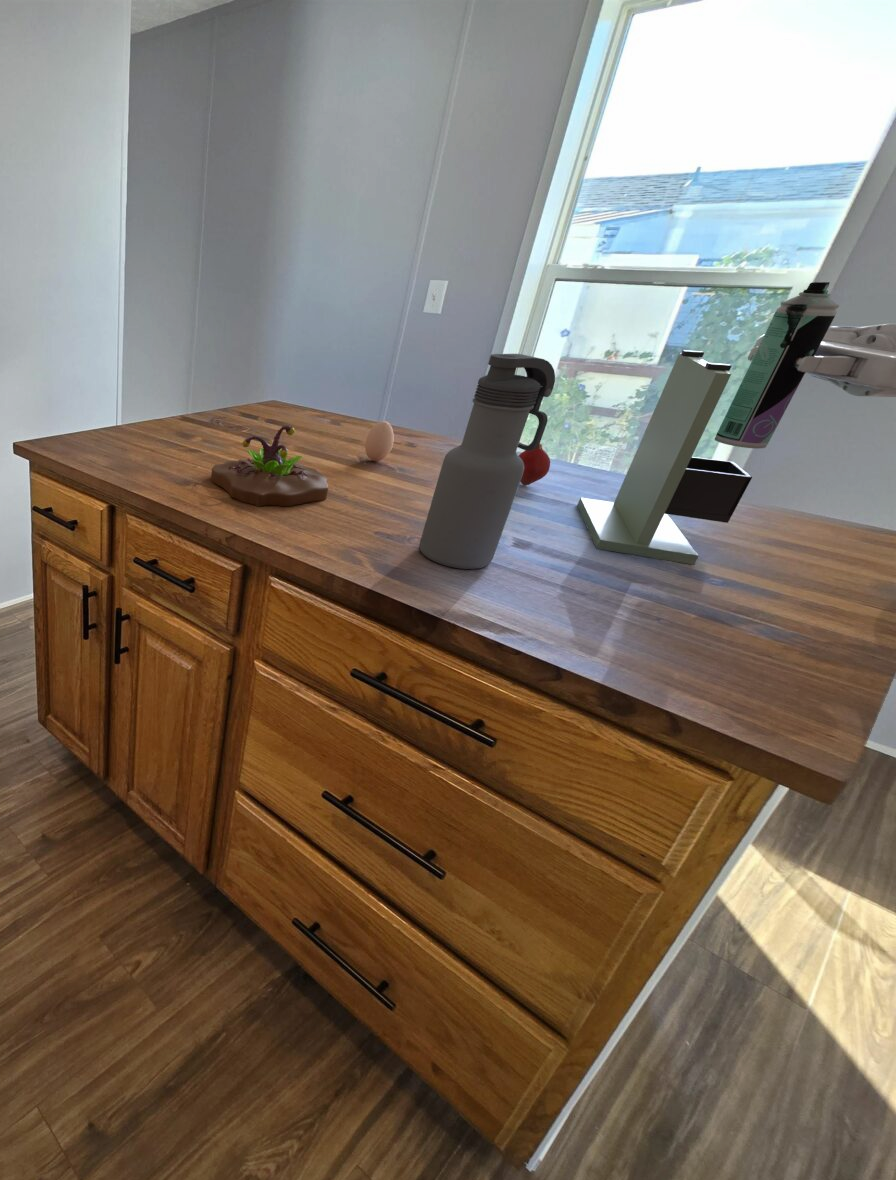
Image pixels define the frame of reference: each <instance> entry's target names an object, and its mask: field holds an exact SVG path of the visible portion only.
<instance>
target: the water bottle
mask: <svg viewBox="0 0 896 1180" xmlns="http://www.w3.org/2000/svg"><path fill="white" fill-rule="evenodd" d="M487 365H489V369H488V372H487V374H485V375H484V376H481V377H480V378H478V380H477V385H476V388H475V392H474V393H475V394H474V395H473V398H472V403H473V405H472V409H471V412H470V415H469V418H468V422H467V425H466V428H465V431H464V432H465V433H464V435H463V439H462V442H461V444H460V445H458V446H455V447H453V448H452V449H450V450H449V451H448V452H447V453H446V454H445V456H444V458H443V460H442V464H441V467H440V472H439V475H438V477H437V480H436V481H437V482H436V485H435V489H434V492H433V496H432V499H431V503H430V505H429V509H428V513H427V516H426V520H425V523H424V527H423V531H422V534H421V537H420V540H419V546H418V547H419V550H420V553H422V554H423V556H425V557H426V558H427V559H429V560H430V561H432V562H435V563H437V564H440V565H441V566H446V567H449V568H454V569H460V570H476V569H482V568H485V567H487V566H488V565H490V564H491V563H492V561H493V560H494V557H495V554H496V551H497V549H498V545H499V543H500V540H501V537H502V534H503V531H504V529H505V526H506V523H507V520H508V518H509V514H510V511H511V509H512V506H513V503H514V501H515V497H516V495H517V492H518V489H519V486H520V484H521V482H520V481H521V478H522V475H523V472H524V463H523V461H522V459H521V458H520V457H519V455H518V453H517V450H518V448H519V449H521V450H523V451H525V450H526V451H532V450H535V449H536V448H537V447H538V446H539V444H541V441H542V438H543V435H544V432H545V430H546V427H547V424H548V415H547V414H546V412H544V411H542V410H540V409H541V405H542V403H543V400H544V398H548V397H550V396H551V394H552V392H553V390H554V387H555V383H556V372H555V368H554V366H553V364H552V363H551V362H550V361H548V360H547V359H544V358H540V357H535V356H531V355H527V354H523V353H491V354H490V356H489V359H488V363H487ZM522 368H523V369H524V370H525V373H526V376H524V375H521V374H516V371H517V369H522ZM529 415H533V416H535V417H536V418H537V421H538V425H537V428H536V431H535V434H534V437H533V440H532V442H531V443H530V444H525V443H523V442H520V441H521V438H522V435H523V433H524V429H525V428H526V427H525V426H526V424H527V421H528V418H529Z"/></svg>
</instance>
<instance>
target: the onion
mask: <svg viewBox="0 0 896 1180" xmlns="http://www.w3.org/2000/svg"><path fill="white" fill-rule="evenodd" d="M518 456H519V457H520V458H521V459H522V461H523V463H524V472H523V475H522V478H521V481H520V484H521V485H523V486H529V485H531V484H533V483H535V482H537V481H539V480H541V479H543V478H544V477H546V476H547V475H548V472H549V471H550V467H551V459H550V456H549V454H548V453H547V452H546V451H545V450H544V449H543V444H542V443H540V444H539V446H538V447H537V448H536V449H535V450H532V451H526V450H523V451H522V452H520V453H519V455H518Z"/></svg>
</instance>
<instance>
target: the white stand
mask: <svg viewBox="0 0 896 1180" xmlns="http://www.w3.org/2000/svg"><path fill="white" fill-rule="evenodd" d="M704 355H705V352H704V351H702V350H701V351H700V350H687V349H683V350H681V352H679V353H678V355H677V356H676V359H675V361H674V364H673V366H672V369H671V371H670V373H669V376H668V378H667V380H666V382H665V384H664V386H663V389H662V392H661V393H660V395H659V398H658V401H657V403H656V405H655V407H654V410H653V412H652V414H651V417H650V420H649V422H648V423H647V426H646V428H645V431H644V432H643V435H642V437H641V440H640V442H639V445H638V447H637V449H636V451H635V453H634V456H633V458H632V461H631V463H630V465H629V468H628V470H627V472H626V474H625V477H624V479H623V481H622V483H621V486H620V488H619V491H618V493H617V495H616V497H615V500H614V502H613V501H609V500H608V501H606V500H600V499H593V498H587V497H586V498H585V497H580V498H579V499H578V502H577V504H576V506H577V508H578V511H579V512H581V513H580V515H581V514H582V515H581V517H582V519H583V521H585V522H584V524H585V523H586V524H585V526H586V525H587V526H586V528H587V527H588V528H587V530H588V532H590V533H589V535H590V538H591V539H592V542H593V544H594V546H595V549H596V550H597V549H598V550H602V551H609V552H615V553H621V554H626V555H633V556H638V557H639V556H640V557H645V558H651V559H657V560H661V561H662V560H663V561H668V562H669V561H670V562H675V563H681V564H687V565H692V566H693V565H695V564H696V562H697V560H698V559H699V556H700V555H699V553H698V552H697V551H696V550H695V548H694V547H693V545H692V544H691V543H690V541H688V539H687V538H686V537H685V536H684V535H685V534H683V533H682V531H681V530H680V529H679V528H678V526H677V525H676V523H675V522H674V521H673V520H672V518H671V517H670V516H676V517H677V516H678V517H685V518H689V519H690V518H691V519H698V520H705V521H710V522H711V521H712V522H718V523H724V524H725V523H726V524H728V523H729V522H730V519H731V518H732V516H733V514H734V513H735V511H736V509H737V507H738V505H739V503H740V501H741V499H742V498H743V496H744V494H745V492H746V490H747V488H748V486H749V484H750V483H751V481H752V478H753V476H751V475H750V474H749V473H748V472H747V471H745V470H744V469H743V468H742V467H741V466H739V465H738V464H737V463H736V462H734V461H731V460H722V459H715V458H714V459H713V458H704V457H696V456H693V455H694V453H695V451H696V449H697V448H698V447H697V446H698V445H699V442H700V441H701V439H702V437H703V434H704V432H705V430H706V428H707V426H708V424H709V422H710V420H711V417H712V415H713V413H714V411H715V410H716V407H717V405H718V403H719V402H720V398H721V397H722V395H723V392H724V391H725V388H726V386H727V384H728V382H729V379H730V378H731V376H732V373H730V370H731V368H732V365H731V364H729V363H719V362H709V361H707V360H705V359H703V357H704Z"/></svg>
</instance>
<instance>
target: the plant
mask: <svg viewBox="0 0 896 1180" xmlns="http://www.w3.org/2000/svg"><path fill="white" fill-rule="evenodd" d="M283 431H285V433H286V434H287V435H288V436H293V434H295V428H294V427H293V426H292V425H287V424H285V425H282V426H281V428H279V429H278V430H277V432H276V434H275V435H274V437H273V441H272V444H271V445H270V444H268V442H267V441H266V439H264V438H263V437H261V436H258V435H253V436H250V437H248V438H245V439H244V440H243V441H242V443H241V444H242V446H243V447H244V448H248V447H249V446H250V444H251V441H252V440H256V441H258V442H260V444H261V446H262V447H260V449H259V453H258V452H257V451H255V450H252V449H247V452H248V454H249V455H250V456H251V458H252V459H250V458H247V459H238V460H226V461H225V462H224V463H221V464H220V463H219V464H215V465H213V466H212V468H211V474H210V480H211V482H212V483H213V484H215V485H217V486H218V487H220V488H222V489H223V490H224V491H226V492H227V493H228V494H229V496H230V497H231V498H232V499H234V500H237V501H240V502H242V503H245V504H249V505H253V506H256V507H264V506H279V507H293V506H296V505H301V504H302V505H303V504H307V503H312V502H313V503H314V502H321V501H324V500H326V499H327V498H328V497H327V496H328V492H329V486H328V479H327V477H326V476H325V475H324V474H323V473H322V472H320V471H318V470H317V469H316V468H313V467H310V466H307V465H304V464H302V463H300V462H298V461H300V460H301V459H303V455H296V456H293V457H291V458H289V459H287V458H288V455H289V450H288V449H287V446H285V444H284V445H283V444H279V442H280V439H281V434H282V433H283Z"/></svg>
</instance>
